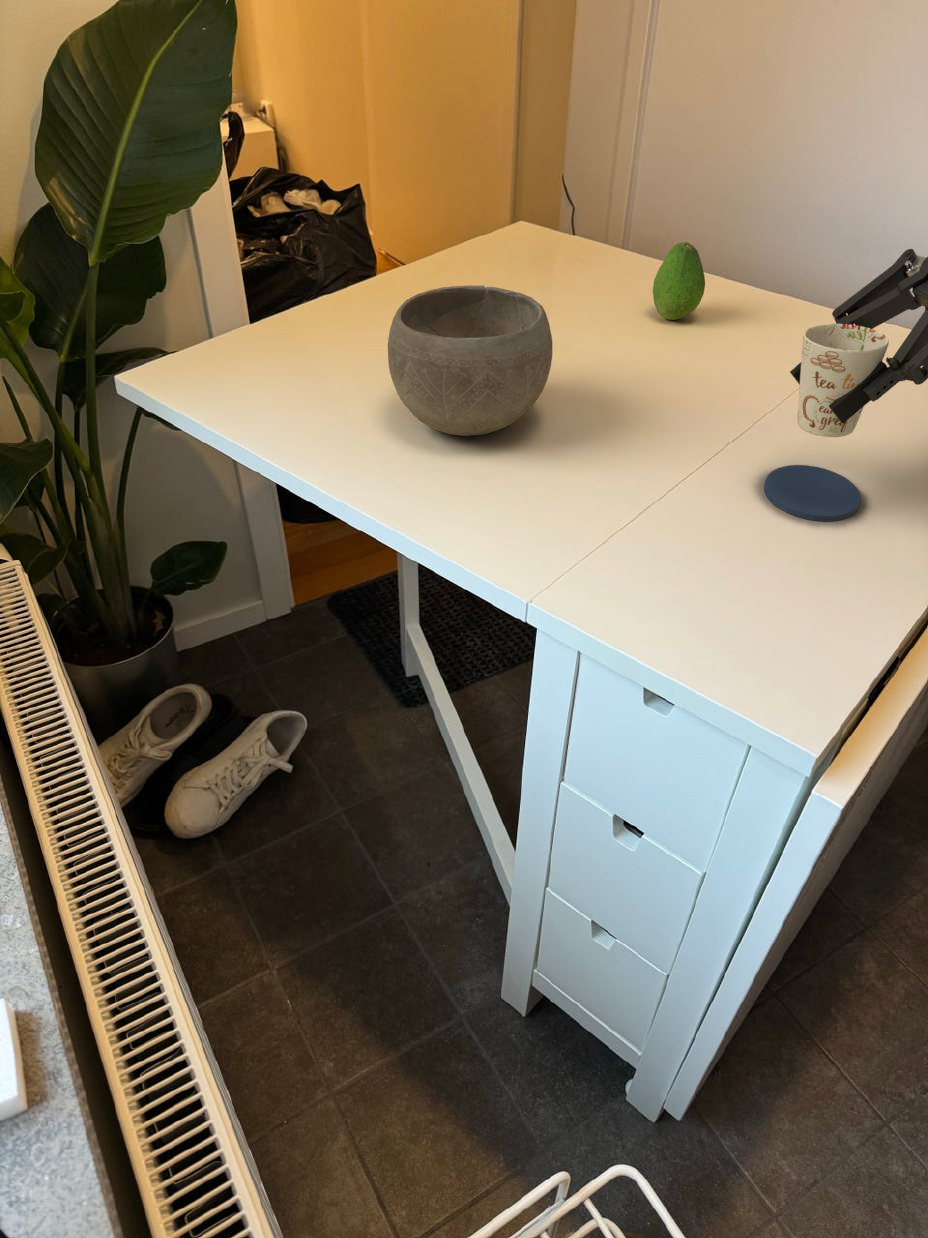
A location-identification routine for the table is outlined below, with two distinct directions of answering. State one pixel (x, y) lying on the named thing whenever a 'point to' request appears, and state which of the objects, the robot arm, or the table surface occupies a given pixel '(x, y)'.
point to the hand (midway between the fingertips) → (815, 396)
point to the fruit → (679, 282)
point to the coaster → (812, 493)
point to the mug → (834, 373)
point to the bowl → (469, 357)
